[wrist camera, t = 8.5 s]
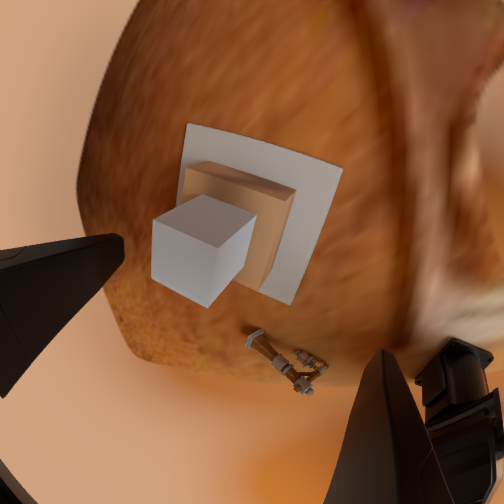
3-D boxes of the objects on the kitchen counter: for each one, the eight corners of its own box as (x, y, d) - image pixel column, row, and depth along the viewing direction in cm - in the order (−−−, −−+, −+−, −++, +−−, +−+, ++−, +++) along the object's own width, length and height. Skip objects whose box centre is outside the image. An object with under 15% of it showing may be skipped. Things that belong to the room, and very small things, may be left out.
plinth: (296, 189, 18) (284, 201, 16) (271, 271, 22) (257, 291, 20) (208, 160, 20) (186, 167, 18) (196, 238, 24) (176, 254, 21)
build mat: (343, 168, 17) (342, 168, 17) (291, 303, 23) (290, 306, 23) (190, 122, 20) (187, 123, 19) (174, 250, 26) (171, 251, 26)
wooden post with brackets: (330, 377, 24) (303, 404, 21) (274, 329, 29) (243, 347, 26) (338, 367, 23) (310, 395, 20) (279, 317, 28) (247, 336, 25)
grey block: (256, 214, 17) (218, 248, 13) (243, 266, 19) (207, 308, 15) (202, 194, 18) (152, 219, 14) (194, 244, 20) (151, 278, 16)
